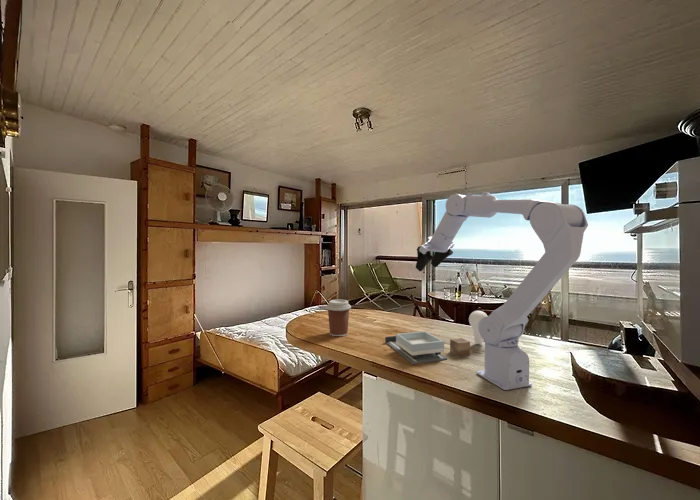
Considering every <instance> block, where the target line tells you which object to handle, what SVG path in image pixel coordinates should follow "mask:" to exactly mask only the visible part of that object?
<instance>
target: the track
mask: <svg viewBox="0 0 700 500" xmlns="http://www.w3.org/2000/svg"><path fill="white" fill-rule="evenodd" d="M384 341H385V342H384V343H385V344H387V345H388V346H389V347H390V348H392V349H393V350H394V351H395V352H396V353H398V354H399V355H400V356H401V357H403V358H404V359H405V360H407V361H408V362H409V363H410V364H412V365H416V364H423V363H424V364H426V363H431V362H432V363H433V362H437V361H438V362H439V361H444V360H445V361H447V360H448V358H447V356H445V355H443V354H442V353H441V354H440V355H436V354H435V353H429V354H421V355H417V357H416V358H412V356H411V354H409V353H408V352H407V351H405V350H404V349H400V347H399V345H397V344H396V335H390V336H385V338H384Z"/></svg>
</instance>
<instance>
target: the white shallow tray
mask: <svg viewBox="0 0 700 500" xmlns="http://www.w3.org/2000/svg"><path fill="white" fill-rule="evenodd" d="M395 336H396V344H397V345H399V347H400V349H404V350H405V351H407V352H408V353H409V354H411V356H412V358H416V357H417V355H421V354H429V353H435V354H436V355H440V354H441V355H442V353H443V352H445V341H444V340H442V339H441V338H439V337H437V336H435V335H433V334H431V333H429V332H427V331H425V330H423V331H412V332H404V333H403V332H402V333H396V334H395Z"/></svg>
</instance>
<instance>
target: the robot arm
mask: <svg viewBox="0 0 700 500" xmlns="http://www.w3.org/2000/svg"><path fill="white" fill-rule="evenodd" d="M498 213H499V214H500V213H501V214H513V215H522V216H523V218H524V220H525V221H529V223H530V226H531V228H532V229H533V230H532V231H534V233H535V234H536V236H537V237H538V238H539V240H540V242H541V243H542V245H543V248H544V254H543V255H542V256H541V257H540V259H538V261H537V262H536V264H535V265H534V266H533V267H532V268H531V270H530V271H529V272H528V274H527V275H526V276H525V277H524V278H523V280H522V281H521V282H520V283H519V284H518V286H517V287H516V289H515V290H514V291H513V292H512V294H510V296H509V297H508V298H507V300H506V301H505V302H504V303H503V304H502V305H500V306H498V308H496V309H494V310H493V311H491V313H490V314H489V315H487V317H484V318H482V319H481V320H480V322H479V325H478V330H479V333H480V335H481V337H482V338H483V343H484V369H482V370H477V371H476V374H478V376H480V377H482V378H483V379H486V381H489V382H491V383H492V384H493V385H495V386H497V387H499V388H500V389H502V390H504V391H508V390H514V389H519V388H525V387H531V386H532V385H533V384H532V383H533V382H532V383H531V381H530V357H529V355H528V353H527V352H525V351H524V350H522V349H521V348H520V346H519V342H520V337H522V336H523V334H524V332H525V327H526V325H527V324H528V322H529V318H528V317H529V315H530V314H531V313H532V312H533V310H535V308H536V307H537V306H538V305H539V304H540V303H541V301H542V300H543V299H544V298H545V297H546V295H548V294H549V292H551V290H552V289H554V288H553V287H555V286H556V284H558V282H559V281H560V280H561V278H563V277H564V275H565V274H566V273H568V271H569V269H571V268H572V266H573V265H574V264H575V263H576V262H577V261H578V259H579V258H580V256H581V253H582V244H583V239H584V233H585V231H586V229H587V228H588V226H589V223H588V220H587V218H586V215H585V212H584V210H583V209H582V208H581V207H580V206H578V205H575V204H568V203H567V204H563V203H560V202H554V201H548V200H542V199H533V198H520V199H519V198H517V199H514V198H513V199H498V198H497V196H496V195H494V194H491V193H490V192H485V191H483V192H482V193H481V194H474V193H472V192H467V194H466V195H465V194H460V193H455V194H451V195H450V196H448V198H447V199H446V201H445V212H444V214H443V216H442V218H441V220H440V221H439V224H438V226H437V227H436V229H435V231H434V233H432V234H433V235H432V236H427V240H428V241H427V242H425V243H423V244H422V245H419V246H418V247H417V248H416V251H417V253H416V255H417V258H416V259H417V260H416V264H415V269H417V271H419V272H422V271H423V270H424V269H425V268H426V266H427V265H428V264H429V263H430V264H431V265H432V266H433V267H434V268H437V267H438V266H439V265H440V264H441V263H443V261H445V259H447V258H448V257H450V256H452V255H453V253H454V251H453V250H452V249H453V247H454V246H455V244H456V243H455V242H454V239H455V237H456V236H457V234H458V232H459V231H460V229H461V227H462V226H463V224H464V222H466V220H467V219H468V218H469V217H475V218H492V217H494V216H495V215H496V214H498ZM431 252H434V254H433V256H432V253H431Z"/></svg>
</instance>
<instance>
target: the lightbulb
mask: <svg viewBox="0 0 700 500" xmlns="http://www.w3.org/2000/svg"><path fill="white" fill-rule="evenodd" d="M487 316H488V315H487V313H486V312H484V311H482V310H474V311H472V312H471V313H470V314H469V317H468V322H469V325H470V326H471V329H472V332H473V337H474V340H473V341H474V343H475V344H477V345H481V344H483V343H484V342H483V338H482V337H481V335H480V333H479V330H478V325H479V322H480V320H481V319H482V318H484V317H487Z"/></svg>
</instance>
